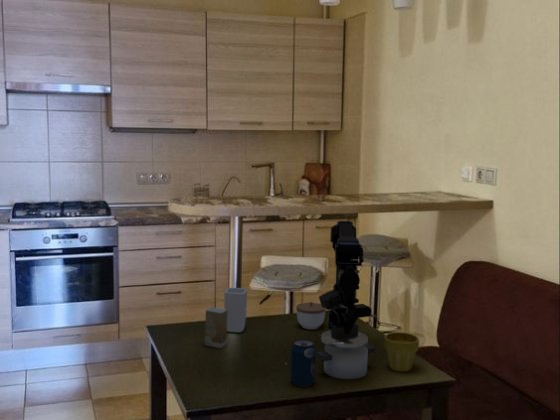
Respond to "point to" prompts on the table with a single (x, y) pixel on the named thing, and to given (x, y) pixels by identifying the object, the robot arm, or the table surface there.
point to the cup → (236, 309)
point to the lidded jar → (310, 315)
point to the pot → (345, 361)
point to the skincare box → (216, 327)
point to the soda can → (303, 363)
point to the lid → (344, 337)
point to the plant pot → (401, 350)
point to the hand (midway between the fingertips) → (344, 332)
